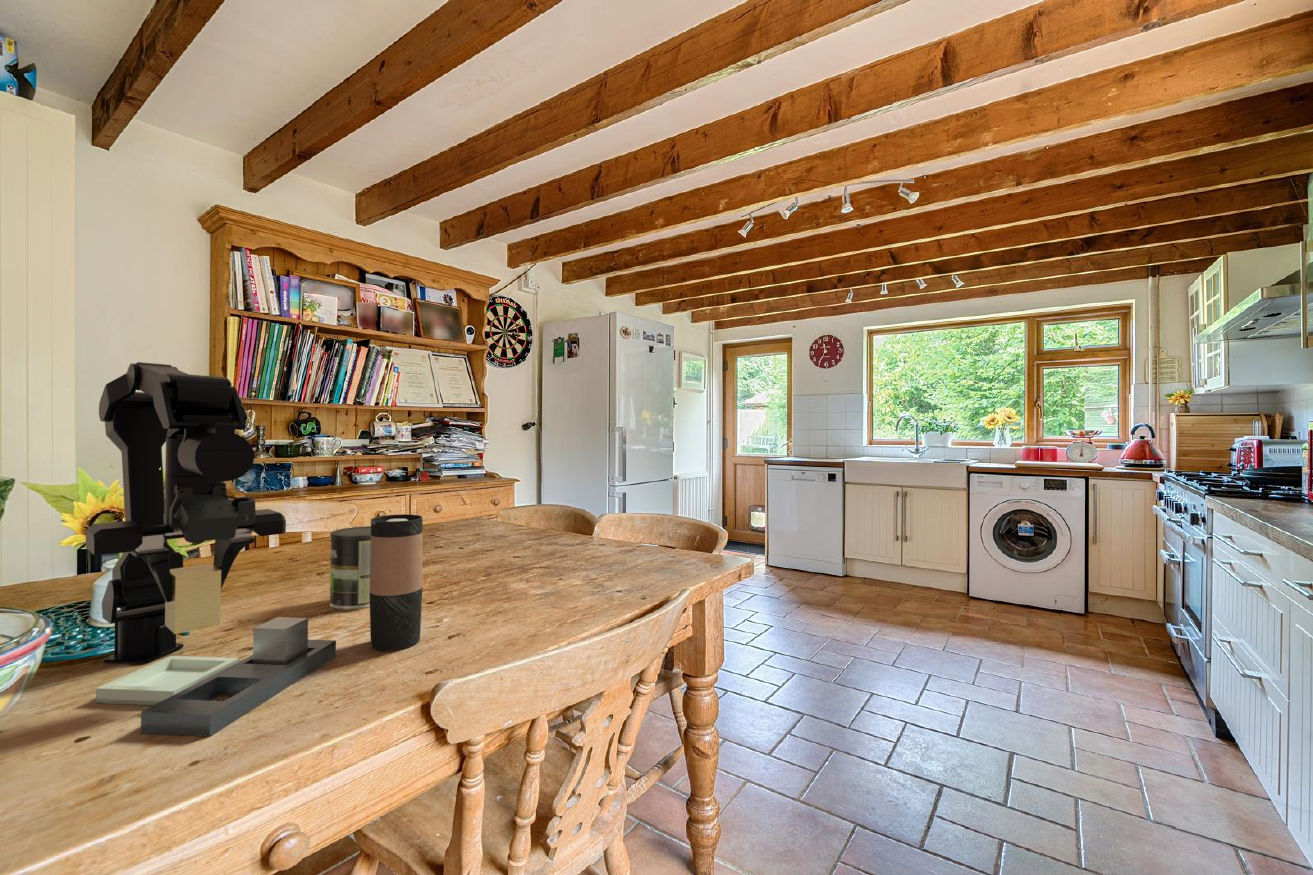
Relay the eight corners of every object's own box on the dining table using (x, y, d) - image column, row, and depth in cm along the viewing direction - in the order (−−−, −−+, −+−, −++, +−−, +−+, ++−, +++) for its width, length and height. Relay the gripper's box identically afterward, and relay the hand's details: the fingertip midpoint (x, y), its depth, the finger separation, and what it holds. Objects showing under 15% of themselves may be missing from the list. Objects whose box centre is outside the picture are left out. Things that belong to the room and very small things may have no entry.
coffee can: (326, 612, 103) (327, 536, 103) (332, 597, 112) (333, 527, 112) (388, 606, 107) (389, 533, 107) (389, 592, 116) (389, 525, 116)
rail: (140, 733, 61) (141, 711, 61) (284, 654, 83) (284, 638, 83) (210, 736, 61) (210, 714, 61) (335, 656, 83) (335, 640, 83)
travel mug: (429, 634, 93) (430, 514, 92) (410, 652, 85) (411, 522, 85) (382, 633, 92) (383, 513, 92) (359, 652, 85) (360, 521, 85)
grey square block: (252, 679, 75) (253, 628, 75) (277, 665, 80) (277, 617, 80) (284, 681, 75) (285, 629, 75) (307, 667, 79) (307, 618, 79)
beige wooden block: (174, 634, 67) (175, 576, 67) (164, 625, 70) (165, 569, 70) (220, 624, 71) (221, 570, 71) (209, 616, 74) (210, 563, 73)
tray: (95, 703, 68) (95, 688, 68) (171, 668, 78) (171, 655, 78) (173, 706, 68) (173, 691, 68) (239, 671, 78) (239, 658, 78)
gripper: (105, 485, 58) (103, 633, 58) (304, 476, 73) (301, 594, 73) (85, 476, 64) (83, 609, 65) (271, 469, 79) (268, 577, 80)
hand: (193, 597), depth 70 cm, fingers closed on beige wooden block, 4 cm apart
